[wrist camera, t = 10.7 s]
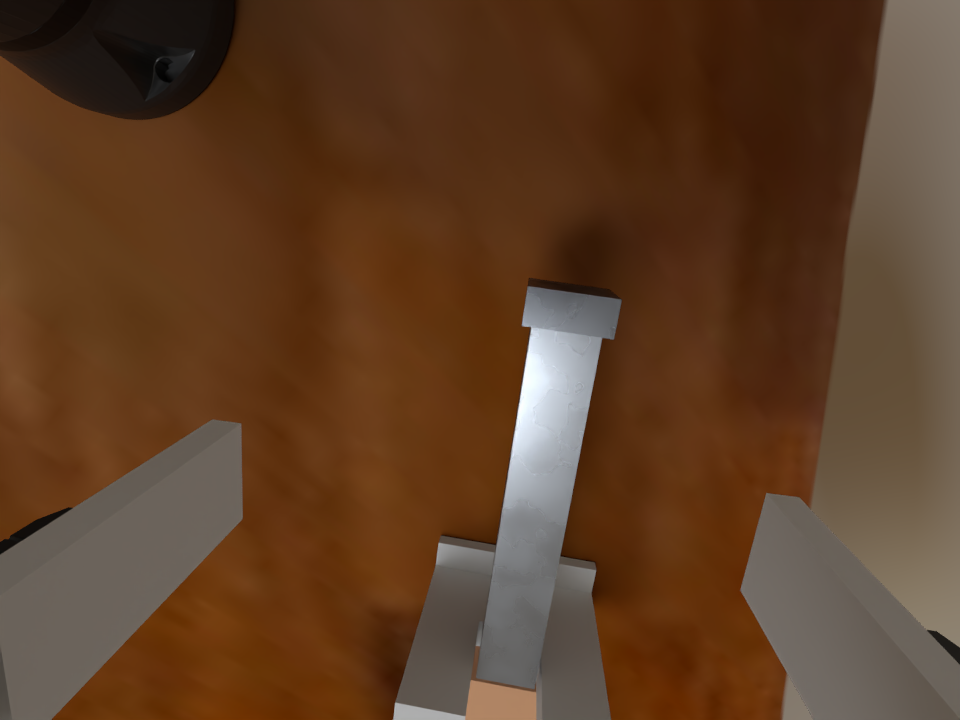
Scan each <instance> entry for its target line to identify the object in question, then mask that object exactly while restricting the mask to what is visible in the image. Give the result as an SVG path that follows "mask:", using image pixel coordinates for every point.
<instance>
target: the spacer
mask: <svg viewBox="0 0 960 720" xmlns="http://www.w3.org/2000/svg"><path fill="white" fill-rule="evenodd" d="M479 650H480V646H475V653H474V660H473V667H472V674H471V682H470V689H469V696H468V703H467V710H466V717H465V720H536V684H535V689H531V688H525V687H520V686H515V685H510V684H505V683H499V682H494V681H489V680H484V679H478V678H476V673H477V665H478V658H479Z"/></svg>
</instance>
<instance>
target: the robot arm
mask: <svg viewBox="0 0 960 720" xmlns="http://www.w3.org/2000/svg"><path fill="white" fill-rule="evenodd" d="M233 17H234V0H0V56H2V57H3V58H5V59H6V60H7V61H9V62H10V63H12V64H13V65H14V66H16V67H17V68H19V69H20V70H21V71H23V72H24V73H26V74H27V75H28V76H30V77H31V78H33V79H34V80H35V81H37V82H38V83H40V84H41V85H43V86H44V87H45V88H47V89H48V90H50V91H51V92H52V93H54V94H56V95H57V96H59V97H61V98H63V99H64V100H66V101H68V102H70V103H73V104H75V105H77V106H80V107H82V108H85V109H88V110H91V111H95V112H99V113H102V114H106V115H110V116H114V117H118V118H123V119H132V120H143V119H152V118H157V117H161V116H165V115H167V114H170V113H172V112H175V111H177V110H179V109H180V108H182V107H184V106H185V105H187V104H188V103H190V102H191V101H192V100H194V99H195V98H196V97H197V96H198V95H199V94H200V93H201V92H202V91H203V90H204V89H205V88H206V87H207V85H208V84H209V83H210V81H211V80H212V79H213V77H214V76H215V74H216V72H217V71H218V69H219V67H220V65H221V63H222V61H223V58H224V56H225V54H226V51H227V47H228V44H229V40H230V37H231V31H232V26H233ZM242 519H243V514H242V447H241V423H234V422H226V421H219V420H211V421H209V422H208V423H206V424H205V425H203V426H202V427H200V428H198V429H197V430H195V431H194V432H192V433H191V434H189V435H187V436H186V437H184V438H183V439H181V440H180V441H178V442H176V443H175V444H173V445H172V446H170V447H169V448H167V449H165V450H164V451H162V452H161V453H159V454H158V455H156V456H154V457H153V458H151V459H150V460H148V461H147V462H145V463H143V464H142V465H140V466H139V467H137V468H136V469H134V470H132V471H131V472H129V473H128V474H126V475H125V476H123V477H121V478H120V479H118V480H117V481H115V482H114V483H112V484H110V485H109V486H107V487H106V488H104V489H103V490H101V491H99V492H98V493H96V494H95V495H93V496H92V497H90V498H88V499H87V500H85V501H84V502H82V503H81V504H79V505H77V506H76V507H74V508H69V507H68V508H66V509H63V510H61V511H58V512H55V513H53V514H50V515H48V516H45V517H42V518H40V519H37V520H35V521H34V522H32V523H30V524H29V525H27V526H26V527H24V528H22V529H21V530H19V531H17V532H16V533H14V534H13V535H11V536H10V538H9V539H8V540H7V539H4V540H3V541H1V542H0V720H51V719H52V718H53V717H54V716H55V715H56V714H57V713H58V712H59V711H60V710H61V709H62V708H63V707H64V706H65V704H66V703H67V702H68V701H69V700H70V699H71V698H72V697H73V696H74V695H75V694H76V693H77V692H78V691H79V690H80V689H81V688H82V687H83V686H84V685H85V684H86V682H87V681H88V680H89V679H90V678H91V677H92V676H93V675H94V674H95V673H96V672H97V671H98V670H99V669H100V668H101V667H102V666H103V665H104V664H105V663H106V662H107V660H108V659H109V658H110V657H111V656H112V655H113V654H114V653H115V652H116V651H117V650H118V649H119V648H120V647H121V646H122V645H123V644H124V643H125V642H126V641H127V639H128V638H129V637H130V636H131V635H132V634H133V633H134V632H135V631H136V630H137V629H138V628H139V627H140V626H141V625H142V624H143V623H144V622H145V621H146V620H147V619H148V617H149V616H150V615H151V614H152V613H153V612H154V611H155V610H156V609H157V608H158V607H159V606H160V605H161V604H162V603H163V602H164V601H165V600H166V599H167V598H168V596H169V595H170V594H171V593H172V592H173V591H174V590H175V589H176V588H177V587H178V586H179V585H180V584H181V583H182V582H183V581H184V580H185V579H186V578H187V577H188V576H189V574H190V573H191V572H192V571H193V570H194V569H195V568H196V567H197V566H198V565H199V564H200V563H201V562H202V561H203V560H204V559H205V558H206V557H207V556H208V555H209V553H210V552H211V551H212V550H213V549H214V548H215V547H216V546H217V545H218V544H219V543H220V542H221V541H222V540H223V539H224V538H225V537H226V536H227V535H228V534H229V533H230V531H231V530H232V529H233V528H234V527H235V526H236V525H237V524H238V523H239V522H240V521H241V520H242ZM741 592H742V594H743V596H744V597H745V599H746V601H747V603H748V604H749V606H750V608H751V610H752V612H753V613H754V615H755V617H756V619H757V620H758V622H759V624H760V626H761V628H762V629H763V631H764V633H765V635H766V636H767V638H768V640H769V642H770V643H771V645H772V647H773V649H774V651H775V652H776V654H777V656H778V658H779V659H780V661H781V663H782V665H783V666H784V668H785V670H786V672H787V674H788V675H789V677H790V679H791V681H792V682H793V684H794V686H795V688H796V689H797V691H798V693H799V695H800V696H801V698H802V700H803V702H804V704H805V705H806V707H807V709H808V711H809V713H810V714H811V716H812V718H813V719H814V720H960V648H959V647H958V646H957V645H955V644H954V643H952V642H951V641H950V640H948V639H947V638H945V637H944V636H942V635H941V634H940V633H938V632H937V631H931V630H926V629H925V628H924V627H923V626H922V625H921V624H920V623H919V622H918V621H917V620H916V619H915V618H914V617H913V616H912V615H911V613H910V612H909V611H908V610H907V609H906V608H905V607H904V606H903V605H902V604H901V603H900V602H899V601H898V600H897V599H896V598H895V597H894V596H893V595H892V594H891V593H890V592H889V591H888V590H887V589H886V588H885V586H884V585H882V583H881V582H880V581H879V580H878V579H877V578H876V577H875V576H874V575H873V574H872V573H871V572H870V571H869V570H868V569H867V568H866V567H865V566H864V565H863V564H862V563H861V562H860V560H859V559H858V558H857V557H856V556H855V555H854V554H853V553H852V552H851V551H850V550H849V549H848V548H847V547H846V546H845V545H844V544H843V543H842V542H841V541H840V540H839V539H838V537H837V536H836V535H835V534H834V533H832V531H831V530H830V529H829V528H828V527H827V526H826V525H825V524H824V523H823V522H822V521H821V520H820V519H819V518H818V517H817V516H816V515H815V514H814V512H813V511H811V509H810V508H809V507H808V506H807V505H806V504H805V503H804V502H803V501H802V500H801V499H800V498H799V497H792V496H784V495H777V494H769V493H766V497H765V500H764V504H763V508H762V512H761V515H760V519H759V523H758V527H757V530H756V534H755V538H754V541H753V545H752V549H751V553H750V556H749V560H748V564H747V568H746V571H745V575H744V579H743V583H742V586H741Z"/></svg>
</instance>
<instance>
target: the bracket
mask: <svg viewBox="0 0 960 720" xmlns="http://www.w3.org/2000/svg"><path fill="white" fill-rule="evenodd" d="M495 547H496V545H492V544H487V543H481V542H475V541H469V540H464V539H458V538H452V537H447V536H441V537H440V540H439V545H438V553H437V560H436V567H435V570H434V573H433V577H432V580H431V584H430V587H429V590H428V594H427V597H426V601H425V604H424V607H423V611H422V614H421V618H420V621H419V624H418V628H417V631H416V635H415V638H414V641H413V645H412V648H411V652H410V655H409V658H408V662H407V665H406V668H405V672H404V675H403V679H402V682H401V685H400V689H399V692H398V696H397V699H396V702H395V711H394V719H393V720H465V717H466V710H467V703H468V696H469V689H470V682H471V674H472V667H473V660H474V653H475V646H480V643H481V635H482V629H483V622H484V616H485V610H486V603H487V597H488V591H489V585H490V578H491V572H492V566H493V559H494V553H495ZM595 574H596V566H595V562H589V561H584V560H578V559H572V558H566V557H561V556H560V560H559V565H558V570H557V575H556V580H555V586H554V591H553V596H552V601H551V606H550V611H549V617H548V622H547V627H546V632H545V637H544V643H543V648H542V653H541V658H540V663H539V669H538V674H537V679H536V720H611V717H610V710H609V704H608V697H607V691H606V685H605V678H604V672H603V665H602V659H601V652H600V646H599V639H598V633H597V626H596V620H595V613H594V607H593V600H592V594H591V593H592V588H593V584H594V579H595Z"/></svg>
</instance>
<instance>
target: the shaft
mask: <svg viewBox="0 0 960 720" xmlns="http://www.w3.org/2000/svg"><path fill="white" fill-rule="evenodd" d="M621 301H622V299H620V298H619V297H618V296H617V295H616V294H614V293H613V292H612V291H611V290H609V289H603V288H596V287H589V286H582V285H575V284H568V283H561V282H554V281H547V280H540V279H533V278H529V281H528V287H527V294H526V300H525V307H524V314H523V321H522V326H526V327H530V332H529V338H528V344H527V351H526V357H525V363H524V370H523V376H522V382H521V388H520V395H519V401H518V407H517V414H516V420H515V426H514V433H513V439H512V445H511V452H510V458H509V464H508V471H507V477H506V483H505V490H504V496H503V502H502V509H501V515H500V521H499V528H498V534H497V540H496V547H495V553H494V559H493V566H492V572H491V578H490V585H489V591H488V597H487V603H486V610H485V616H484V622H483V629H482V635H481V643H480V650H479V658H478V665H477V673H476V678H478V679H484V680H489V681H494V682H499V683H505V684H510V685H515V686H520V687H525V688H531V689H535V684H536V679H537V674H538V669H539V663H540V658H541V653H542V648H543V643H544V637H545V632H546V627H547V622H548V617H549V611H550V606H551V601H552V596H553V591H554V586H555V580H556V575H557V570H558V565H559V560H560V554H561V549H562V544H563V539H564V534H565V528H566V523H567V518H568V513H569V508H570V502H571V497H572V492H573V487H574V482H575V477H576V471H577V466H578V461H579V456H580V451H581V445H582V440H583V435H584V430H585V425H586V419H587V414H588V409H589V404H590V399H591V394H592V388H593V383H594V378H595V373H596V368H597V362H598V357H599V352H600V347H601V342H602V338H607V339H614V336H615V331H616V326H617V321H618V316H619V311H620V306H621Z"/></svg>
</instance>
